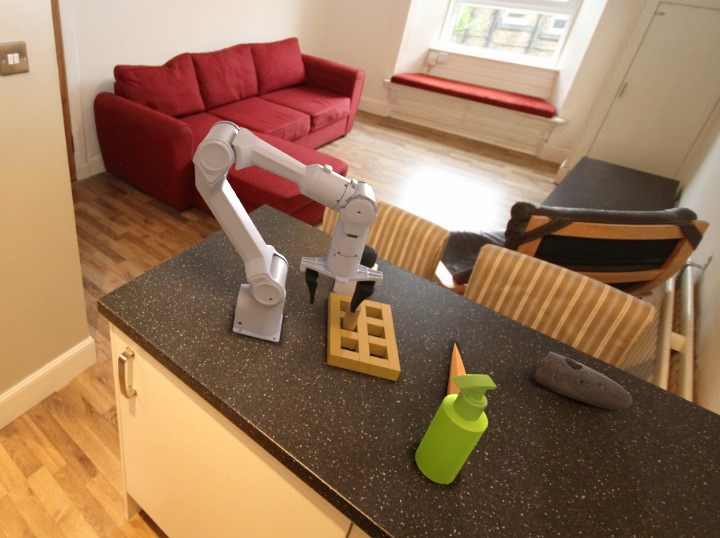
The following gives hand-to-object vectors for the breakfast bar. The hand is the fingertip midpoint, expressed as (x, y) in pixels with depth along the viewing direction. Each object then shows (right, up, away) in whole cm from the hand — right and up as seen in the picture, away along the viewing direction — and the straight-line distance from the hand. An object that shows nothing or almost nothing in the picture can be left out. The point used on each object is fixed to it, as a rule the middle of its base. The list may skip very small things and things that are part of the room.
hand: (331, 304), depth 86 cm
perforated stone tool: (+44, -17, -2) cm, 47 cm away
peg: (+5, -8, +6) cm, 11 cm away
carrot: (+23, -14, -1) cm, 27 cm away
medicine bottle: (+10, -1, +19) cm, 21 cm away
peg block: (+7, -8, +6) cm, 12 cm away
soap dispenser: (+11, -21, -16) cm, 29 cm away
